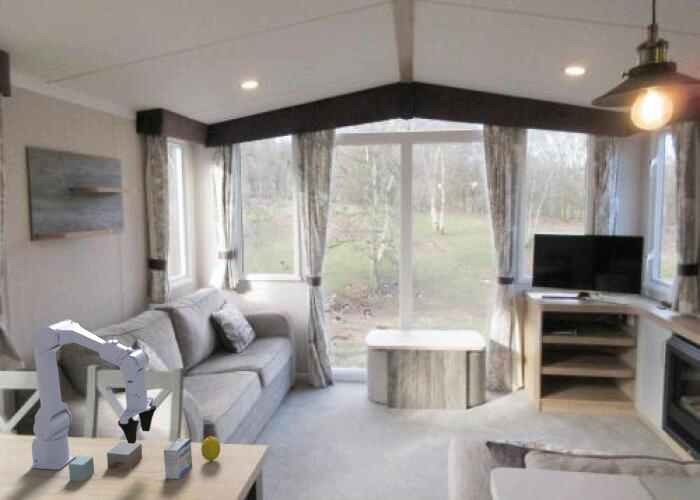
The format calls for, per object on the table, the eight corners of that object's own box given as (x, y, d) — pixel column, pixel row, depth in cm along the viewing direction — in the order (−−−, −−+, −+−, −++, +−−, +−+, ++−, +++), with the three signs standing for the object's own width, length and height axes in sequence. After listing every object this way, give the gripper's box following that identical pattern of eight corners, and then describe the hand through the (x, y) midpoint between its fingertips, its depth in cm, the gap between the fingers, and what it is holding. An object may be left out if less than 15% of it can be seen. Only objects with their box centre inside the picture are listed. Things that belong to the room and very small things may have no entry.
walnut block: (107, 468, 158) (107, 461, 157) (121, 457, 165) (121, 449, 164) (129, 470, 157) (128, 462, 156) (142, 458, 163) (141, 451, 163)
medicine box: (179, 479, 150) (177, 451, 149) (164, 478, 151) (163, 449, 150) (192, 465, 158) (191, 438, 157) (179, 464, 159) (177, 437, 158)
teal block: (70, 480, 151) (68, 463, 151) (80, 472, 156) (79, 456, 155) (84, 481, 150) (83, 464, 150) (94, 473, 155) (93, 457, 154)
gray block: (107, 460, 157) (106, 453, 157) (121, 449, 164) (120, 441, 164) (128, 462, 156) (128, 454, 156) (141, 451, 163) (141, 443, 163)
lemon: (198, 464, 159) (196, 438, 158) (209, 455, 164) (208, 430, 163) (213, 467, 157) (212, 441, 156) (224, 458, 162) (223, 433, 161)
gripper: (135, 402, 146) (138, 449, 148) (161, 383, 160) (164, 426, 162) (111, 401, 147) (115, 447, 149) (140, 382, 161) (142, 425, 163)
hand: (139, 436), depth 155 cm, fingers open, 7 cm apart
